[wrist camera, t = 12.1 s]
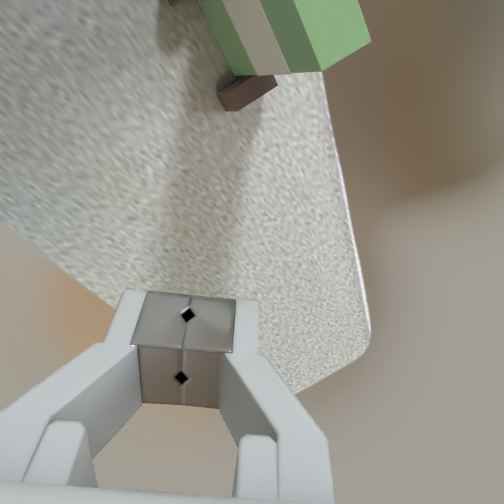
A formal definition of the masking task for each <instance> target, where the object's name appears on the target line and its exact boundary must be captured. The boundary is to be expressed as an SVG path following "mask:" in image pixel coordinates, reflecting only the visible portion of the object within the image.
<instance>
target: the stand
mask: <svg viewBox="0 0 504 504" xmlns="http://www.w3.org/2000/svg"><path fill="white" fill-rule="evenodd" d="M168 1H169V3H170V5H171V6H174V5H175V4H177V3H179V2H181V1H183V0H168ZM276 86H278V84H277V82H276V80H275V78H274V75H259V76H258V75H245V76H244V77H242V78H240V79H239V80H237V81H235V82H234V83H232V84H231V85H229V86H227V87H226V88H224V89H223V90H221V91H219V92H218V93H217V95H218V97H219V99H220V101H221V103H222V105H223V107H224V109H225V111H238V110H240V109H242V108H243V107H245V106H246V105H248V104H250V103H251V102H253V101H254V100H256V99H257V98H259V97H261V96H262V95H264V94H265V93H267V92H268V91H270V90H272V89H273V88H275V87H276Z"/></svg>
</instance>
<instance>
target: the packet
mask: <svg viewBox="0 0 504 504" xmlns="http://www.w3.org/2000/svg"><path fill="white" fill-rule="evenodd" d="M197 2H198V4H199V6H200V8H201V10H202V12H203V14H204V16H205V18H206V20H207V22H208V24H209V26H210V28H211V30H212V32H213V34H214V36H215V38H216V40H217V42H218V44H219V46H220V48H221V50H222V52H223V54H224V56H225V58H226V60H227V62H228V64H229V66H230V68H231V70H232V72H233V75H234V76H241V75H258V76H259V75H281V74H292V73H300V72H320V71H324V70H325V69H327V68H328V67H330V66H332V65H333V64H335V63H337V62H338V61H340V60H342V59H343V58H345V57H347V56H348V55H350V54H351V53H353V52H355V51H357V50H358V49H360V48H362V47H363V46H365V45H366V44H368V43H370V42H371V38H370V35H369V33H368V30H367V27H366V24H365V21H364V18H363V15H362V12H361V9H360V6H359V3H358V0H197Z"/></svg>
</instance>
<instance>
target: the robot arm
mask: <svg viewBox="0 0 504 504" xmlns="http://www.w3.org/2000/svg"><path fill="white" fill-rule="evenodd" d="M259 306H260V303H259V301H258V300H251V299H237V300H236V299H233V298H220V297H207V296H194V295H184V294H175V293H166V292H156V291H143V290H134V289H125V290H124V292H123V293H122V295H121V297H120V300H119V302H118V305H117V307H116V310H115V313H114V315H113V318H112V320H111V323H110V326H109V328H108V331H107V333H106V336H105V338H104V341H103V343H99V342H96V343H94V344H93V345H91V346H90V347H89V348H87V349H86V350H84V351H83V352H82V353H80V354H79V355H77V356H76V357H75V358H73V359H72V360H70V361H69V362H68V363H66V364H65V365H64V366H62V367H61V368H59V369H58V370H57V371H55V372H54V373H52V374H51V375H50V376H48V377H47V378H46V379H44V380H43V381H41V382H40V383H39V384H37V385H36V386H34V387H33V388H31V389H30V390H29V391H27V392H26V393H25V394H23V395H22V396H20V397H19V398H18V399H16V400H15V401H13V402H12V403H11V404H10V405H8V406H6V407H5V408H4V409H2V410H1V411H0V504H335V498H334V489H333V481H332V472H331V463H330V455H329V446H328V439H327V438H326V436H325V435H324V434H323V432H322V431H321V429H320V428H319V427H318V425H317V424H316V423H315V422H314V420H313V419H312V418H311V416H310V415H309V414H308V412H307V411H306V410H305V408H304V407H303V406H302V404H301V403H300V402H299V400H298V399H297V398H296V396H295V395H294V394H293V392H292V391H291V390H290V388H289V387H288V386H287V384H286V383H285V382H284V380H283V379H282V378H281V376H280V375H279V374H278V372H277V371H276V370H275V368H274V367H273V366H272V364H271V363H270V362H269V360H268V359H267V358H266V356H259ZM142 403H154V404H172V405H181V404H182V405H186V406H196V407H206V408H215V409H220V412H221V415H222V416H223V419H224V420H225V422H226V425H227V427H228V429H229V430H230V432H231V434H232V437H233V439H234V441H235V443H236V445H237V447H238V455H237V462H236V470H235V477H234V484H233V492H232V497H223V496H210V495H196V494H182V493H168V492H154V491H140V490H126V489H112V488H98V485H97V481H96V476H95V471H94V466H93V462H92V459H93V458H94V457H95V456H96V455H97V454H98V453H99V452H100V451H101V449H102V448H103V447H104V446H105V445H106V444H107V443H108V442H109V441H110V439H112V437H113V436H114V435H115V434H116V433H117V432H118V431H119V430H120V429H121V428H122V427H123V426H124V424H125V423H126V422H127V421H128V420H129V419H130V418H131V417H132V416H133V415H134V414H135V412H136V411H137V410H138V409H139V408H140V407H141V406H142Z"/></svg>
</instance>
